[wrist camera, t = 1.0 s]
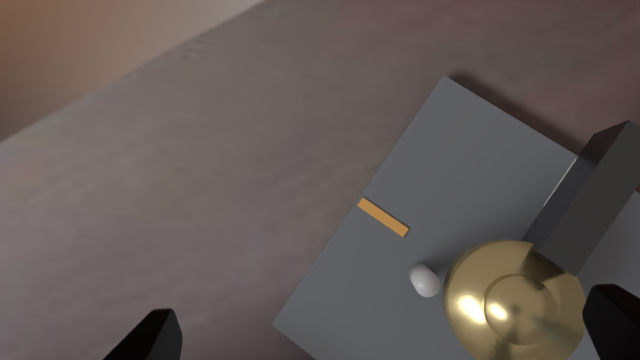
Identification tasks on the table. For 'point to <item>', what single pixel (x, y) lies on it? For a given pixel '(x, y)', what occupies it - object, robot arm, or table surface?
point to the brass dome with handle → (543, 261)
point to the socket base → (439, 234)
